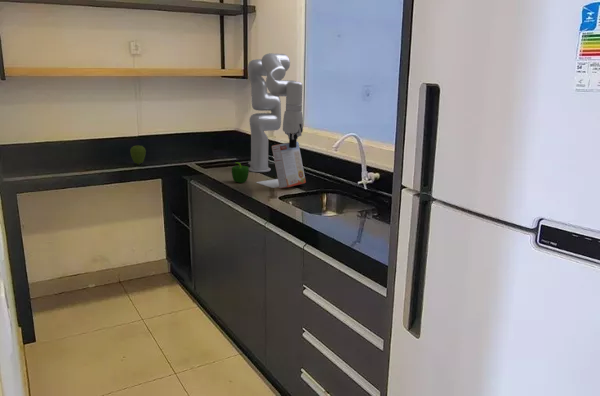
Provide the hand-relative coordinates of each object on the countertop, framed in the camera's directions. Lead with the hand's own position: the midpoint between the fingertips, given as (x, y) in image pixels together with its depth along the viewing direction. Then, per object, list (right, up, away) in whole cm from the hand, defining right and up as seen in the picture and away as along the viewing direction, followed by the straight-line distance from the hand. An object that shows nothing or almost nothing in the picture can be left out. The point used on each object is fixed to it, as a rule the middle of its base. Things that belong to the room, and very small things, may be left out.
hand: (292, 147), depth 244 cm
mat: (-7, -17, +12) cm, 22 cm away
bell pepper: (-26, -16, +12) cm, 33 cm away
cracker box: (0, -18, +4) cm, 19 cm away
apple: (-89, -5, +49) cm, 102 cm away
